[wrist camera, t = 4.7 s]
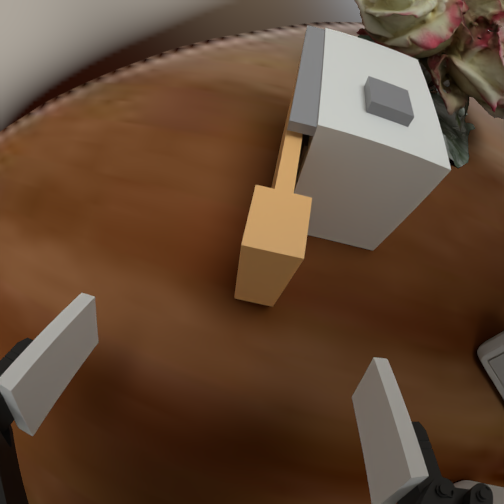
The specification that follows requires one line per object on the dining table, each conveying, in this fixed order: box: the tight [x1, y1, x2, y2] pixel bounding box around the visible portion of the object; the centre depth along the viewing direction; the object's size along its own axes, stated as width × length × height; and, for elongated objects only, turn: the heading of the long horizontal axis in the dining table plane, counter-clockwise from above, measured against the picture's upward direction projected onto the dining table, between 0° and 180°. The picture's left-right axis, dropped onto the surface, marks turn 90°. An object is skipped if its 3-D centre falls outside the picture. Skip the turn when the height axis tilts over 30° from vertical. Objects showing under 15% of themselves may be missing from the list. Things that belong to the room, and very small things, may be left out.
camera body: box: [287, 25, 451, 251], centre depth 25 cm, size 15×11×14 cm
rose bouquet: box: [355, 0, 504, 168], centre depth 26 cm, size 26×29×30 cm
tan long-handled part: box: [234, 59, 312, 307], centre depth 23 cm, size 18×3×10 cm, turn 168°
